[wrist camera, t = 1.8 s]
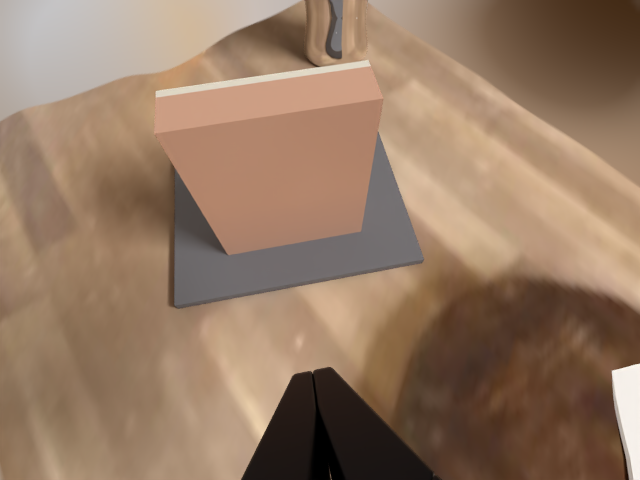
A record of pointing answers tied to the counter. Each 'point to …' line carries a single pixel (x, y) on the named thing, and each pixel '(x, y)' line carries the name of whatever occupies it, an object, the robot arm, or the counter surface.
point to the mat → (292, 248)
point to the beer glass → (335, 31)
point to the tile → (275, 152)
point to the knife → (628, 414)
